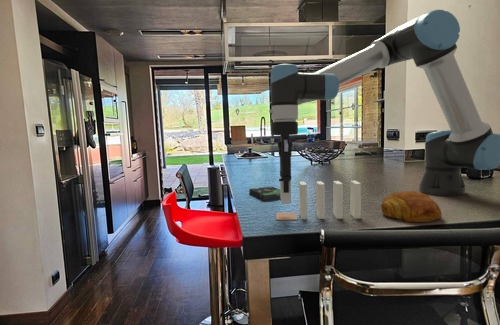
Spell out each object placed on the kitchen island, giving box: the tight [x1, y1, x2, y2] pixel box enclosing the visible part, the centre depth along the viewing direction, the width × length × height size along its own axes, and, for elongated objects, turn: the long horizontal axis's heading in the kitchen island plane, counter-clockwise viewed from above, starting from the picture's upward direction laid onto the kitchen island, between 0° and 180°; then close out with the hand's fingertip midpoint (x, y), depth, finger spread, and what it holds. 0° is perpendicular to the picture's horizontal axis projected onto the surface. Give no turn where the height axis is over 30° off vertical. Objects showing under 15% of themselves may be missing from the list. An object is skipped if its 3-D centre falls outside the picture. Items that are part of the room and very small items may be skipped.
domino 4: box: [332, 180, 344, 220], centre depth 90 cm, size 2×5×10 cm, turn 177°
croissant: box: [380, 190, 442, 223], centre depth 89 cm, size 14×16×8 cm
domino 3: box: [315, 180, 326, 220], centre depth 90 cm, size 2×5×10 cm, turn 177°
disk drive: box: [248, 186, 281, 202], centre depth 121 cm, size 10×3×15 cm
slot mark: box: [275, 212, 298, 221], centre depth 91 cm, size 6×7×1 cm
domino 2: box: [298, 181, 308, 220], centre depth 91 cm, size 2×5×10 cm, turn 177°
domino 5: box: [349, 180, 362, 220], centre depth 90 cm, size 2×5×10 cm, turn 177°
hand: (285, 201), depth 91 cm, fingers closed on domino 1, 5 cm apart
